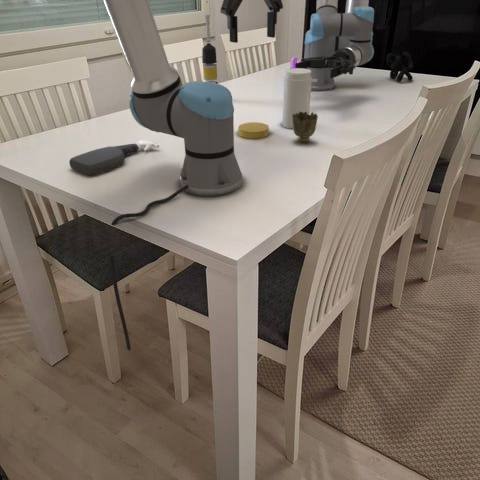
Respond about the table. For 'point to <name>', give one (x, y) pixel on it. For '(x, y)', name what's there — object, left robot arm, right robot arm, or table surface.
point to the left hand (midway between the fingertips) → (252, 39)
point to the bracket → (294, 62)
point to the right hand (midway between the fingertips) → (313, 70)
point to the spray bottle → (106, 157)
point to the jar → (296, 94)
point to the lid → (253, 130)
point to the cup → (304, 125)
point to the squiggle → (399, 66)
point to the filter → (209, 57)
